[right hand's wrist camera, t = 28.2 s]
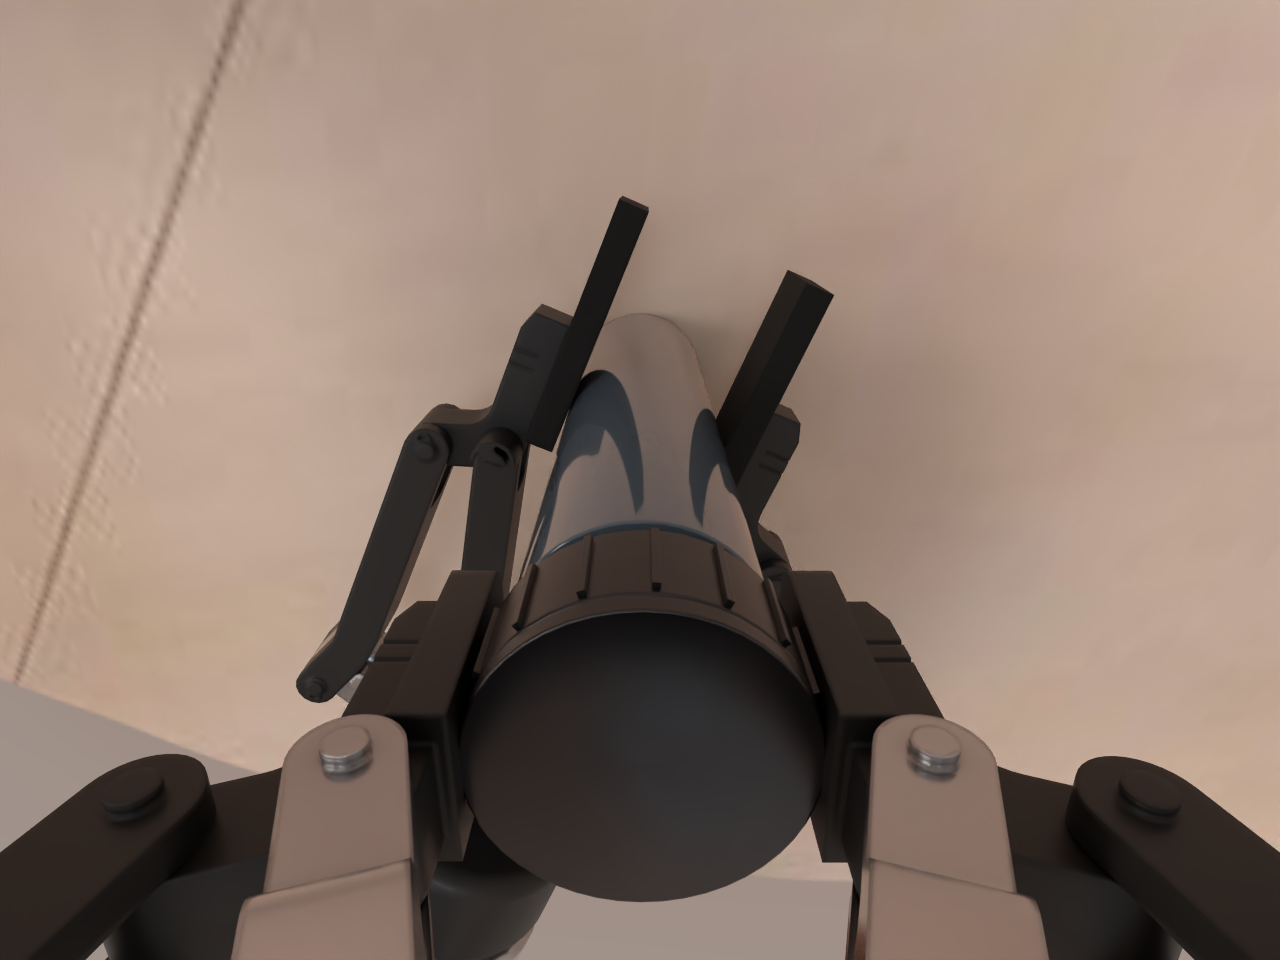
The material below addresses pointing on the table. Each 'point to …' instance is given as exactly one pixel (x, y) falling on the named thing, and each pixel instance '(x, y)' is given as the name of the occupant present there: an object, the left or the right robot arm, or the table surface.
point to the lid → (642, 720)
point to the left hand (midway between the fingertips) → (722, 245)
